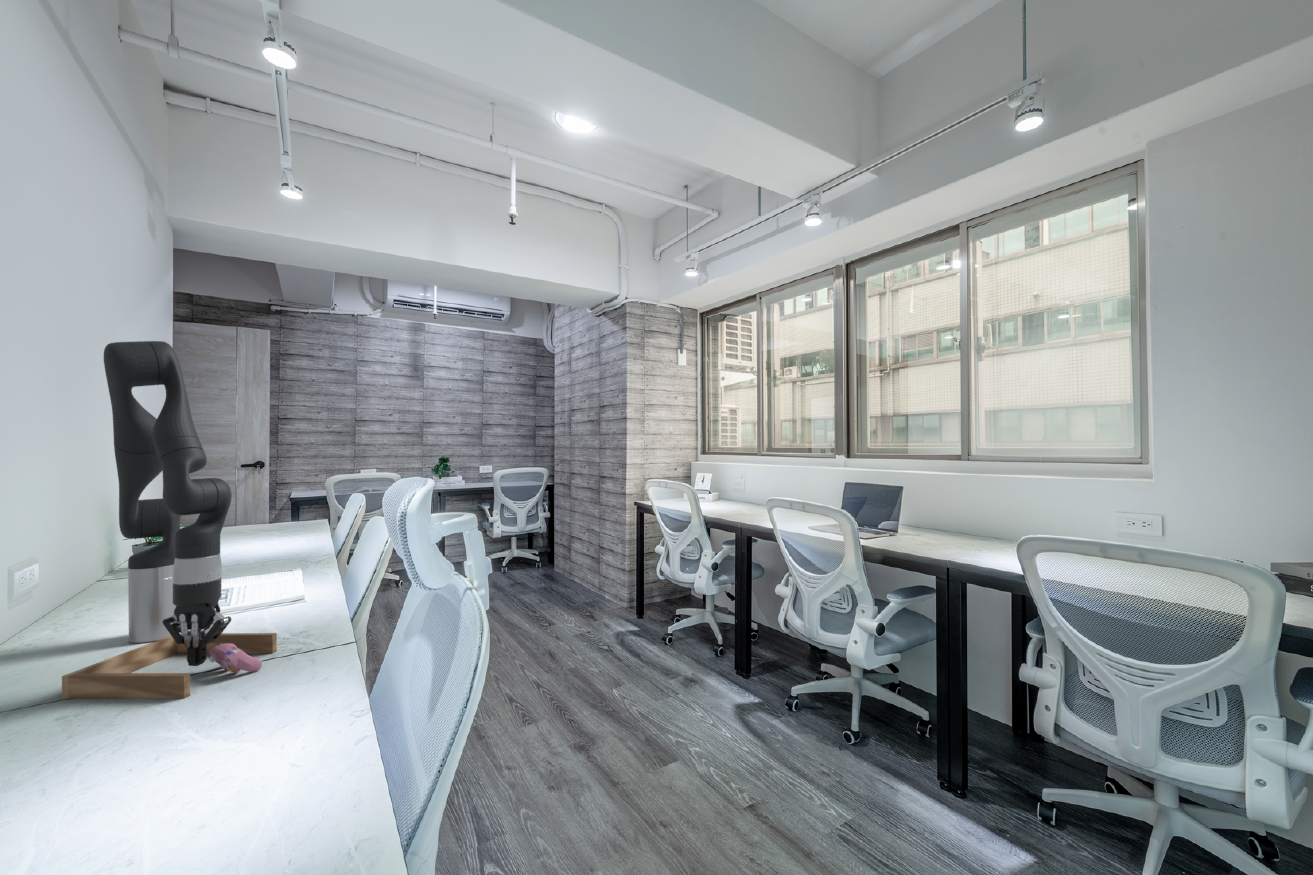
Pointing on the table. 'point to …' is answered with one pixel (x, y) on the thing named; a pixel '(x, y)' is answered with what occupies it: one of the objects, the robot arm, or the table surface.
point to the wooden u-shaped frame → (120, 683)
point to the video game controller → (234, 658)
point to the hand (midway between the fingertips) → (196, 664)
